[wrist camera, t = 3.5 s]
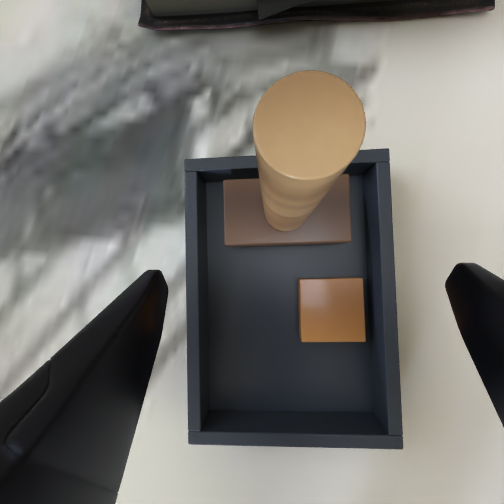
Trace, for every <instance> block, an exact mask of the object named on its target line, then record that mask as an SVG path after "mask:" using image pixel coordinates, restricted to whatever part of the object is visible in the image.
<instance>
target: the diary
mask: <svg viewBox="0 0 504 504" xmlns="http://www.w3.org/2000/svg"><path fill="white" fill-rule="evenodd" d="M494 8H495V0H142V3H141V17H140V19H139V22H138V26H140V27H144V28H148V29H152V30H177V29H214V28H232V27H241V26H251V25H260V24H269V23H279V22H288V21H297V20H367V21H393V20H402V19H411V18H421V17H430V16H439V15H449V14H458V13H467V12H476V11H491V10H493V9H494Z"/></svg>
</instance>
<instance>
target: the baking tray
mask: <svg viewBox="0 0 504 504" xmlns="http://www.w3.org/2000/svg"><path fill="white" fill-rule="evenodd" d="M389 161H390V159H389V149H371V150H359V151H358V153H357V155H356V156H355V158H354V159H353V160H352V161H351V163H350V164H349V165H348V167H347V168H346V169H345V170H344V172H343V173H342V174H349V185H350V209H351V233H352V241H351V242H348V243H344V244H318V245H284V246H250V247H229V246H226V245H225V242H224V192H223V181H224V180H233V179H254V178H259V172H258V165H257V158H256V156H238V157H220V158H201V159H185V160H184V165H185V232H186V307H187V382H188V431H189V432H188V443H189V444H192V445H236V446H280V447H324V448H368V449H403V436H402V435H403V432H402V411H401V390H400V369H399V349H398V328H397V307H396V287H395V266H394V245H393V225H392V204H391V183H390V163H389ZM330 277H360V278H363V289H364V312H365V335H366V342H301V339H300V336H299V310H298V278H330Z"/></svg>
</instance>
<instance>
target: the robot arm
mask: <svg viewBox="0 0 504 504" xmlns="http://www.w3.org/2000/svg"><path fill="white" fill-rule="evenodd" d="M445 288H446V291H447V295H448V298H449V301H450V304H451V307H452V310H453V313H454V316H455V319H456V322H457V325H458V328H459V330H460V333H461V336H462V338H463V340H464V342H465V345H466V347H467V349H468V351H469V353H470V355H471V358H472V360H473V362H474V364H475V366H476V368H477V371H478V373H479V375H480V377H481V379H482V381H483V383H484V386H485V388H486V390H487V392H488V394H489V396H490V399H491V401H492V403H493V405H494V407H495V409H496V412H497V414H498V416H499V418H500V420H501V422H502V424H503V427H504V280H503V279H501V278H499V277H498V276H496V275H494V274H493V273H491V272H489V271H488V270H486V269H484V268H482V267H481V266H479V265H477V264H475V263H458V264H457V265H456V266H455V267H454V269H453V270H452V272H451V274H450V275H449V277H448V278H447V280H446V283H445ZM167 298H168V286H167V283H166V281H165V279H164V276H163V274H162V272H161V271H160V270H147V271H146V272H144V273H143V274H142V275H141V276H140V277H139V278H138V279H137V280H136V281H135V282H133V283H132V284H131V285H130V286H129V287H128V288H127V289H126V290H125V291H124V292H122V293H121V294H120V295H119V296H118V297H117V298H116V299H115V300H114V301H113V302H112V303H110V304H109V305H108V306H107V307H106V308H105V309H104V310H103V311H102V312H101V313H99V314H98V315H97V316H96V317H95V318H94V319H93V320H92V321H91V322H90V323H89V324H87V325H86V326H85V327H84V328H83V329H82V330H81V331H80V332H79V333H78V334H77V335H75V336H74V337H73V338H72V339H71V340H70V341H69V342H68V343H67V344H66V345H64V346H63V347H62V348H61V349H60V350H59V351H58V352H57V353H56V354H55V355H54V356H52V357H51V359H50V360H48V361H47V362H46V363H45V364H44V365H42V366H41V367H40V368H39V369H38V370H37V371H36V372H35V373H34V374H33V375H31V376H30V377H29V378H28V379H27V380H26V381H25V382H23V383H22V384H21V385H20V386H19V387H18V388H17V389H16V390H14V391H13V392H12V393H11V394H10V395H8V396H7V397H6V398H5V399H4V400H2V401H1V402H0V504H115V503H116V499H117V495H118V493H117V492H118V491H119V488H120V484H121V480H122V477H123V473H124V469H125V466H126V462H127V459H128V455H129V451H130V448H131V444H132V441H133V437H134V433H135V430H136V426H137V423H138V419H139V415H140V412H141V408H142V405H143V401H144V397H145V394H146V390H147V387H148V383H149V379H150V376H151V372H152V369H153V365H154V361H155V358H156V354H157V351H158V347H159V343H160V339H161V335H162V330H163V323H164V317H165V311H166V304H167Z"/></svg>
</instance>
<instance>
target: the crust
mask: <svg viewBox="0 0 504 504" xmlns="http://www.w3.org/2000/svg"><path fill="white" fill-rule="evenodd" d="M298 310H299V336H300V339H301V342H366V335H365V312H364V289H363V278H360V277H330V278H298Z"/></svg>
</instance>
